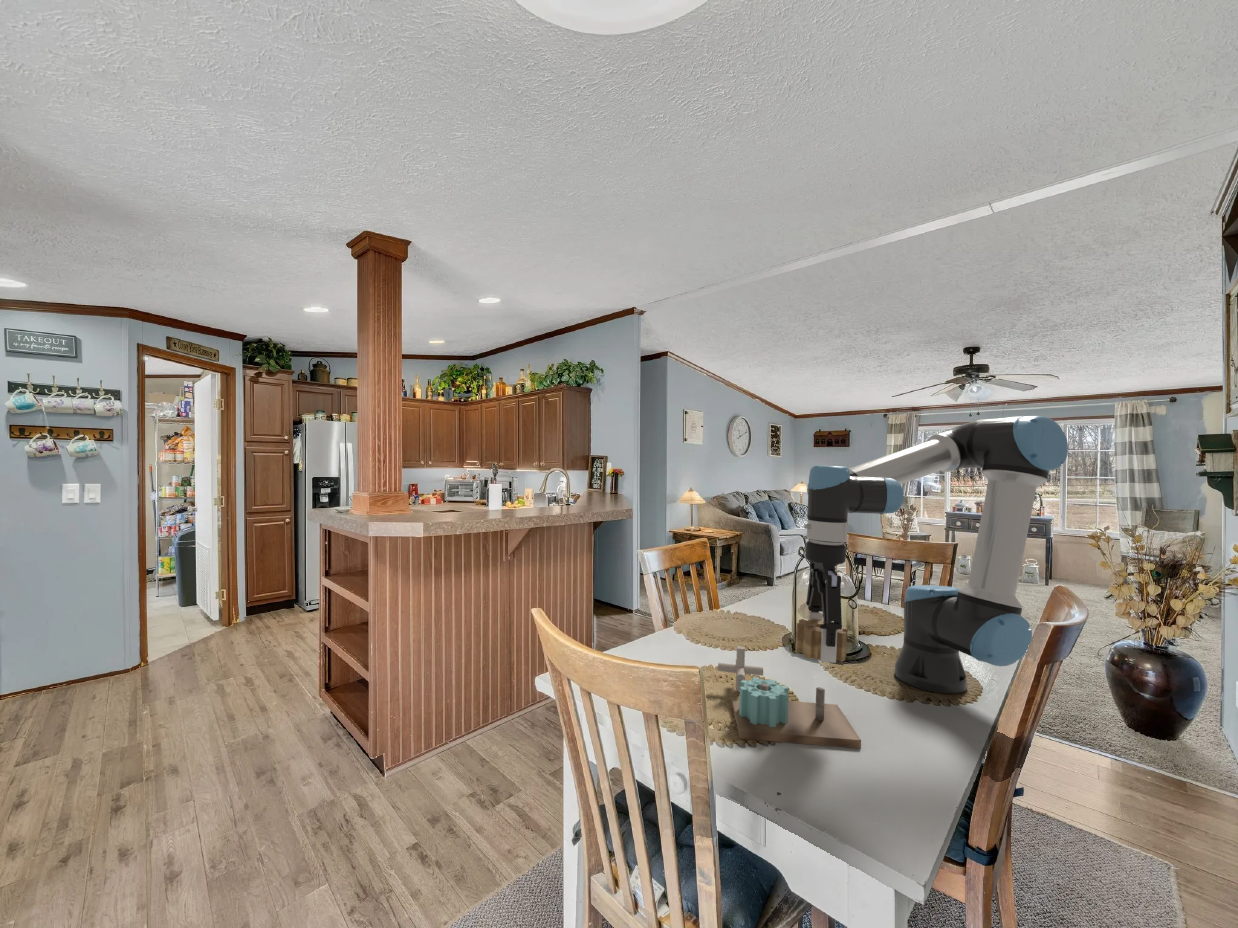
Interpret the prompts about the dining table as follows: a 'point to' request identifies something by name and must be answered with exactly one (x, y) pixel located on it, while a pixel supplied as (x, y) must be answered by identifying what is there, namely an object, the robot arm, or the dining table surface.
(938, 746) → the dining table surface
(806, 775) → the dining table surface
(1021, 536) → the robot arm
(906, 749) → the dining table surface
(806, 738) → the gear board
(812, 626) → the oak gear
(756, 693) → the teal gear
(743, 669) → the pipe connector
